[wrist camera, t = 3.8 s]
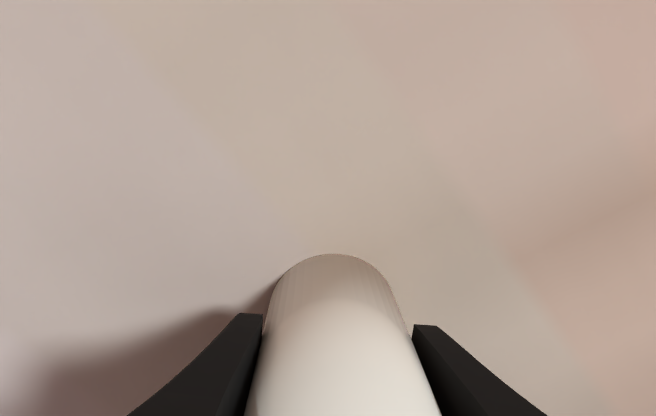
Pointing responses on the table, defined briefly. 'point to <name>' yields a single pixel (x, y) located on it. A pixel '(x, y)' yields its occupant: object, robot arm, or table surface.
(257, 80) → the table surface
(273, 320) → the white rounded egg shape
